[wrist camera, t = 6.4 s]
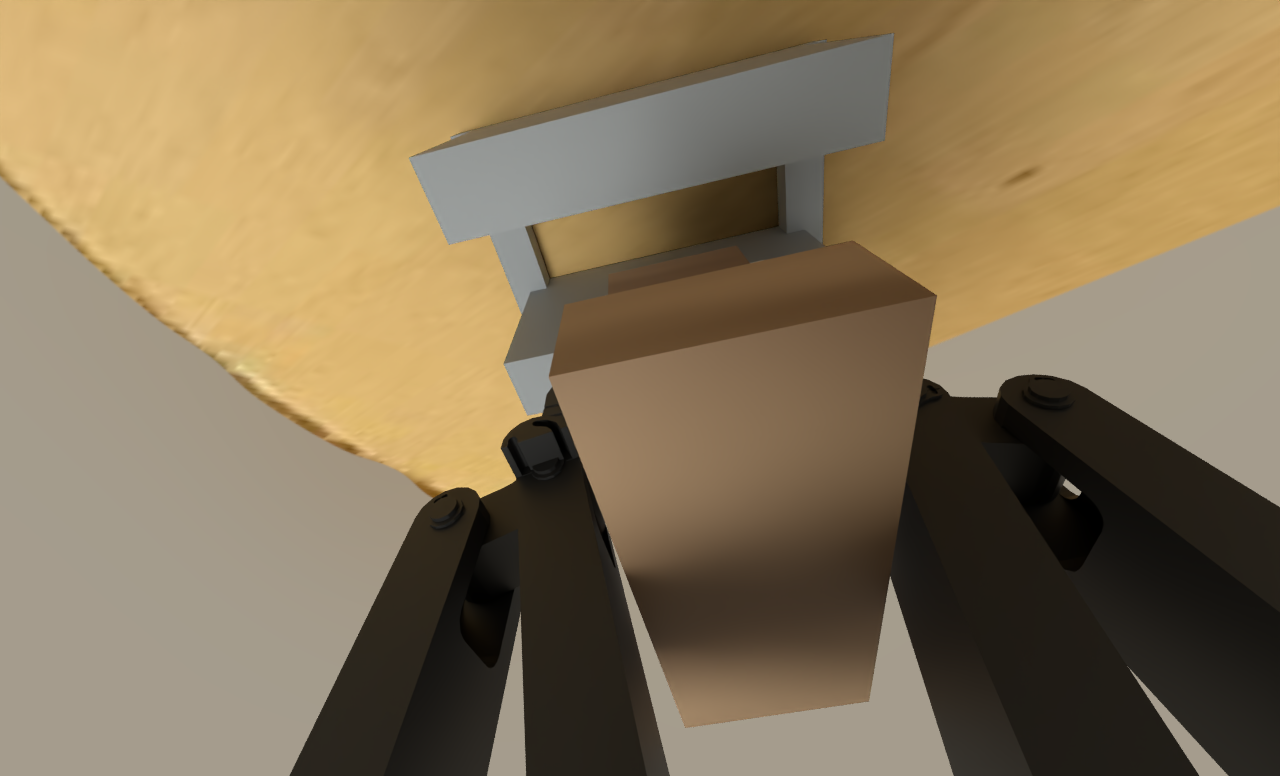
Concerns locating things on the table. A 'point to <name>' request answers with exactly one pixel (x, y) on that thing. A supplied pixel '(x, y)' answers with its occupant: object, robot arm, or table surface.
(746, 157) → the slot stand
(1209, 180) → the table surface
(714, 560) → the wooden t-shaped block
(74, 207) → the table surface
